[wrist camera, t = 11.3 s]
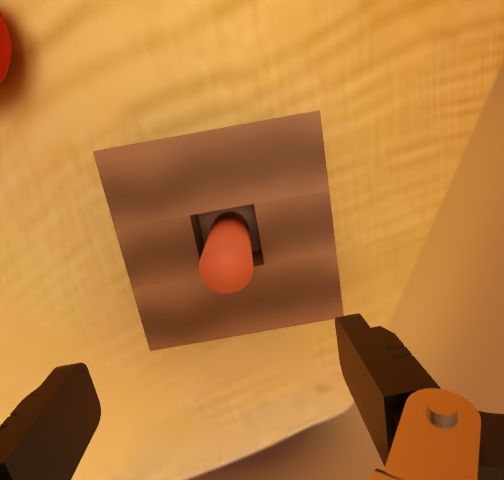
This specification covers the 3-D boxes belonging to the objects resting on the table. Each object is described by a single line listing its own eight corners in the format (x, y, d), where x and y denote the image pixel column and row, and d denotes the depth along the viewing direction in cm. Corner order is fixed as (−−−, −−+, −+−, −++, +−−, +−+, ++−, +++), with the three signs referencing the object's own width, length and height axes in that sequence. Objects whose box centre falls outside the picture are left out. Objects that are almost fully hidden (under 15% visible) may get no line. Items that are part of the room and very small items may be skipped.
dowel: (208, 214, 29) (193, 247, 20) (245, 208, 29) (248, 237, 20) (215, 250, 30) (204, 297, 20) (251, 243, 30) (257, 288, 20)
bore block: (117, 151, 29) (93, 151, 24) (306, 117, 28) (319, 110, 24) (163, 321, 33) (150, 350, 28) (328, 292, 33) (343, 317, 28)
